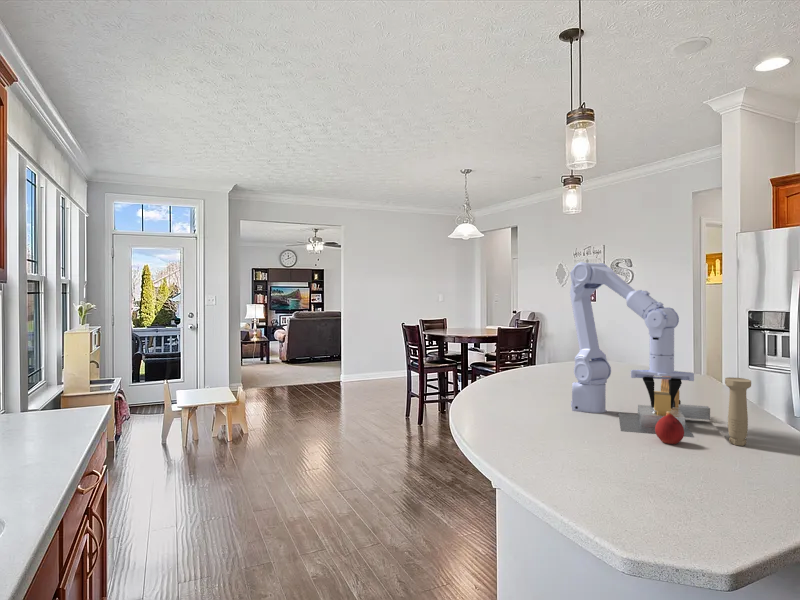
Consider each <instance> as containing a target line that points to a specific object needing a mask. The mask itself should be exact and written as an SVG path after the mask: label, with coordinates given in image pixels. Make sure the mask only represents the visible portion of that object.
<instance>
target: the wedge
mask: <svg viewBox="0 0 800 600" xmlns="http://www.w3.org/2000/svg"><path fill="white" fill-rule="evenodd" d="M654 410H656V411H657V415H666V412H667V411H670V412H671V395H670V394H669V392H661V390H659V391H658V390H654Z"/></svg>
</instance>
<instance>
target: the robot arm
mask: <svg viewBox="0 0 800 600" xmlns="http://www.w3.org/2000/svg"><path fill="white" fill-rule="evenodd" d="M569 274H570V275H569V276H570V281H571V284H570V291H569V294H570V295H569V296H570V303H571V307H572V314H573V318H574V327H575V331H576V337H577V343H578V348H579V351H578V353H577V354H576V355H575V357H574V358H573V359H574V367H573V375H574V377H575V379H576V380H577V381H575V382H572V383H571V384H572V385H571V386H572V387H571V403H570V408H571V411H572V412H581V413H582V412H584V413H589V414H590V413H592V414H593V413H594V414H601V413H603V414H604V413H605V412H608V409H606V403H607V400H606V398H607V397H606V396H607V395H606V391H607V389H606V388H607V386H606V384H607V382H608V379H609V378H610V377H611V374H612V366H611V365H610V363H609V361H608V360H607V356H606V354H605V352H603V350H601V349H600V346H599V340H598V335H597V328H596V322H595V316H594V312H593V306H592V300H591V296H592V295H593V293H594V292H595V291H596V290H598V289H599V288H600V287H601V286H603V285H605V286H606V287H607V288H609V289H611V291H613V292H615V293H617V294H618V295H619V296H620V297H622V298H623V299H625V301H626V307H627V308H628V309H630V310H631V311H632V312H634V313H635V314H636V315H638V317H640V318H641V319H642V320H644V325H645V326H646V327H647V329H648V335H649V359H648V360H649V369H631V370H630V378H631V379H642V380H643V382H644V385H645V387H646V390H647V392H648V393H647V394H648V396H649V400H650V401H649V402H650V406H651V407H654V391H655V379H657V380H662V379H669V394H670V395H671V408H673V402H674V399H675V396H676V394H677V392H678V390H679V391H680V388H681V386H682V384H683V383H682V381H689V382H694V381H695V373H694V372H691V371H690V372H689V371H687V372H686V371H677V370H675V329H676V327H678V324H679V322H680V317H679V314H678V312H676V310H675V309H674V308H672V307H670V306H669V307H664V303H663V302H661V301H660V302H659V301H657V300H656V299H654V297H652V296H651V293H650V292H649V291H648V290H642V289H638V290H636V289H634V288H633V287H632V286H631V285H629V283H627V282H626V281H625V280H624V279H623V278H621V277H620V276H619V275H618V274H617V273H616V272H615V271H614V270H613V268H612V267H610V266H607V265H606V264H605V263H603V262H599V263H597V262H596V263H595V262H584V261H579V262H578V263H576V264H575V265H574V266H573V268H572V269H571V271H570V272H569ZM662 376H670V377H662Z"/></svg>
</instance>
